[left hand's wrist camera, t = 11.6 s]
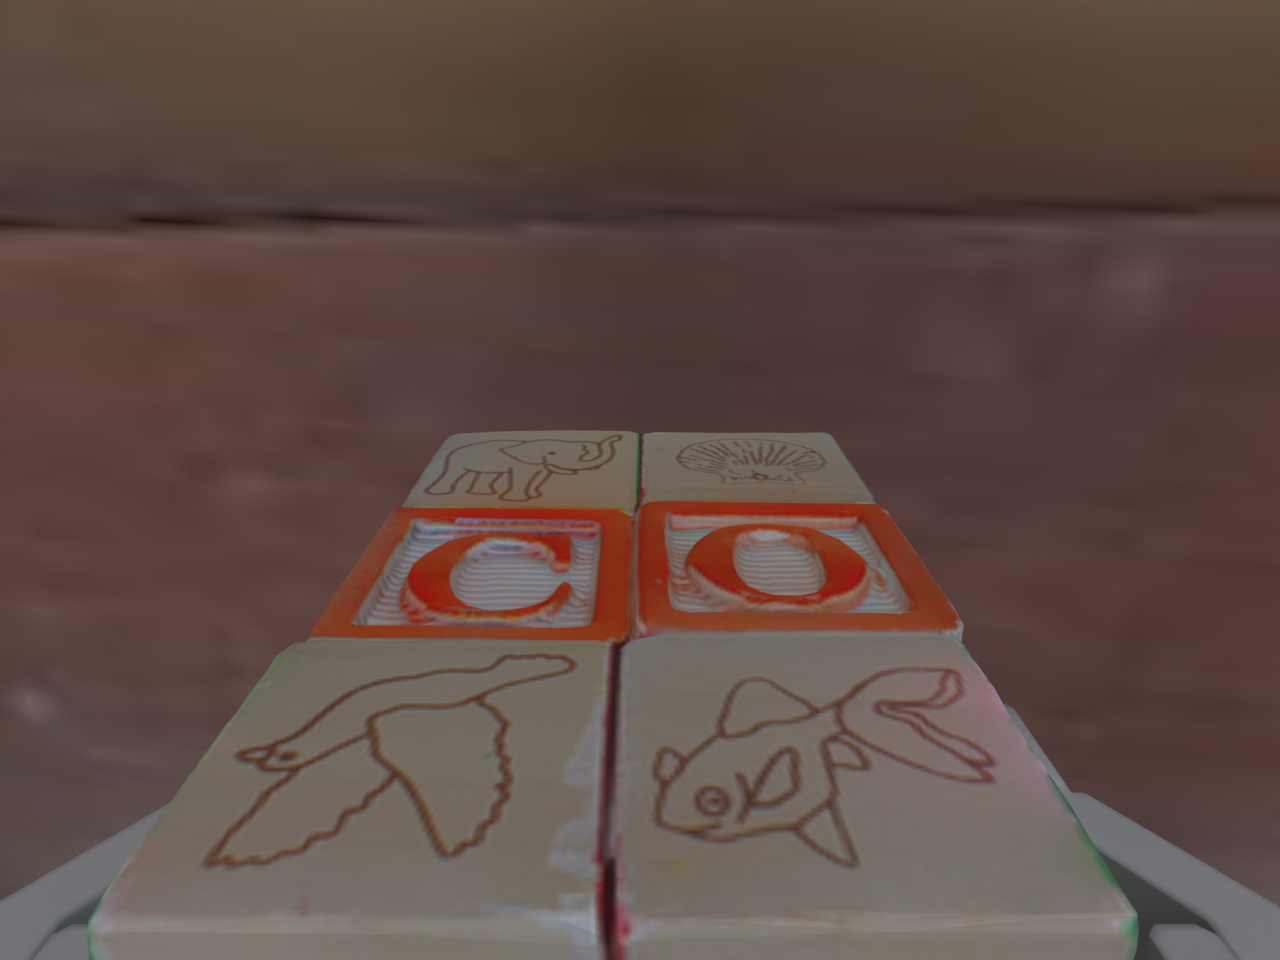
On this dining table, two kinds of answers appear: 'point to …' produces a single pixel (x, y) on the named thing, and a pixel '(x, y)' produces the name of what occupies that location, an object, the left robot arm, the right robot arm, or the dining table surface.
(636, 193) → the dining table surface
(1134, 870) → the left robot arm
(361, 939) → the stack of blocks
